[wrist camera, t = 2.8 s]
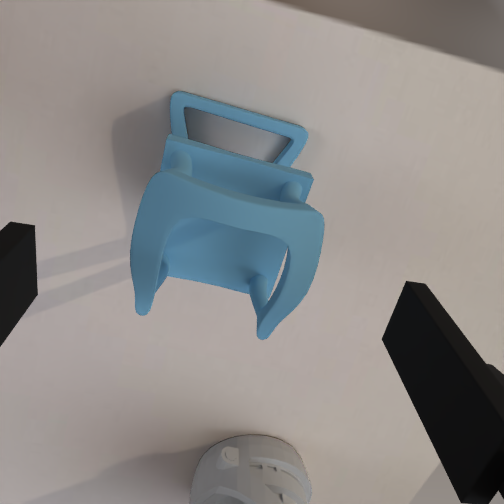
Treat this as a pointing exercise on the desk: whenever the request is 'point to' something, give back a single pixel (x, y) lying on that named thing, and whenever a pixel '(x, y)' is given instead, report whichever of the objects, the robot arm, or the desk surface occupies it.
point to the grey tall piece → (251, 473)
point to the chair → (228, 218)
